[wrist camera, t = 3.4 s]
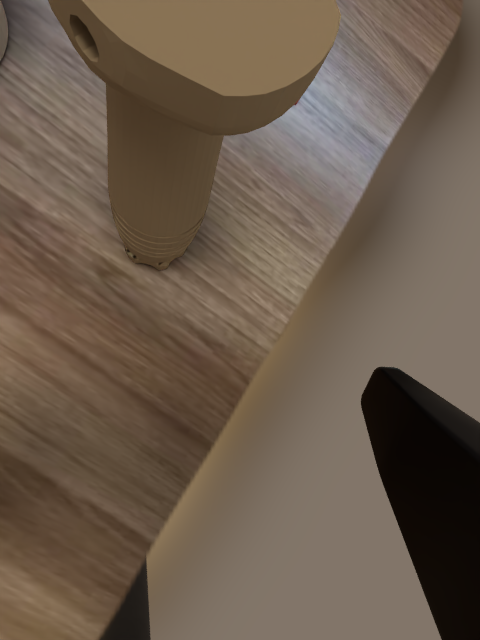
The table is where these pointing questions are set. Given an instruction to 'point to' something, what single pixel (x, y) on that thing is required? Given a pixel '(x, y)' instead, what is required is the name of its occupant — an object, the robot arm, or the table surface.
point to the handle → (188, 96)
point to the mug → (3, 31)
